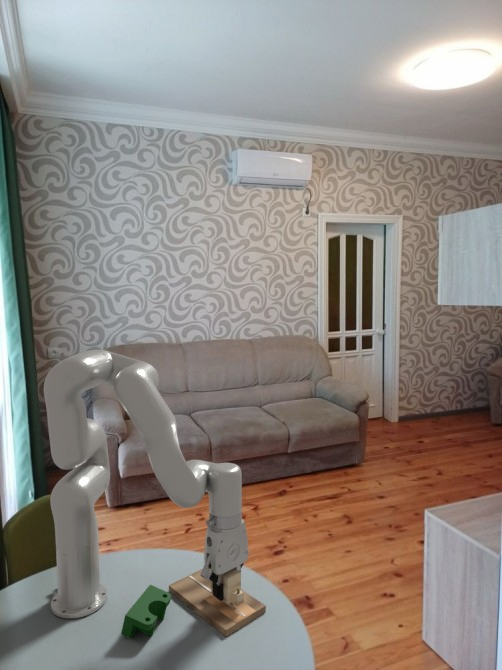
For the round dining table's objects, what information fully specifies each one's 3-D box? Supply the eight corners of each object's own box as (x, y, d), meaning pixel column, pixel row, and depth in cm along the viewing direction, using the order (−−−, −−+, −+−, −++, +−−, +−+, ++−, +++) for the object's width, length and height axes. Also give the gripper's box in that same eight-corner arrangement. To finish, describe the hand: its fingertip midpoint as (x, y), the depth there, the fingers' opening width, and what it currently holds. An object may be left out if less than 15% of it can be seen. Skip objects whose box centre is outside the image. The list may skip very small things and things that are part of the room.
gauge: (206, 588, 115) (205, 564, 114) (218, 581, 118) (218, 558, 117) (233, 608, 108) (233, 582, 107) (246, 600, 110) (246, 575, 110)
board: (168, 590, 120) (168, 584, 120) (207, 571, 128) (207, 566, 128) (226, 636, 104) (226, 629, 104) (265, 611, 112) (265, 605, 112)
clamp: (145, 657, 104) (145, 634, 99) (121, 645, 105) (120, 622, 101) (172, 606, 114) (173, 583, 109) (150, 596, 115) (150, 573, 110)
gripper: (206, 536, 103) (207, 618, 104) (262, 512, 114) (262, 585, 116) (186, 524, 108) (187, 601, 110) (241, 502, 120) (241, 572, 121)
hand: (225, 592), depth 113 cm, fingers closed on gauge, 4 cm apart
